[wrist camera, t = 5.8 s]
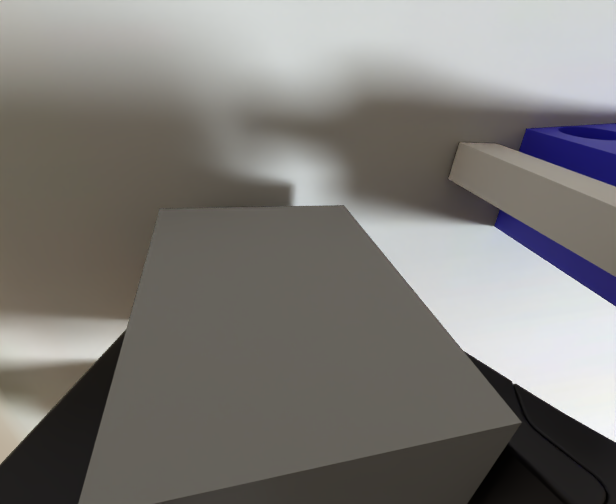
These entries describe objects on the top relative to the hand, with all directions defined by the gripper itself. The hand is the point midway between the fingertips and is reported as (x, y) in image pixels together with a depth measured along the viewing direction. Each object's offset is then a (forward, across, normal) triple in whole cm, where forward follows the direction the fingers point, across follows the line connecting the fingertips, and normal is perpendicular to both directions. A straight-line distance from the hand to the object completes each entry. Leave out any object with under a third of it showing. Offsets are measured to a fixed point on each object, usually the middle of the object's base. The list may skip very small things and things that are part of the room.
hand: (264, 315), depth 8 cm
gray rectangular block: (+1, 0, 0) cm, 1 cm away
